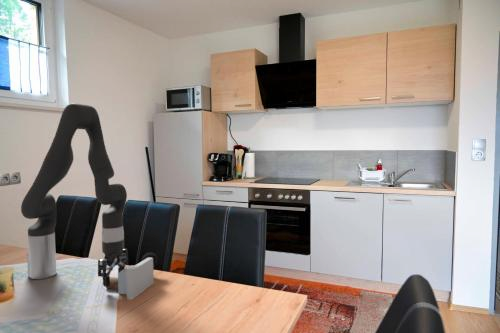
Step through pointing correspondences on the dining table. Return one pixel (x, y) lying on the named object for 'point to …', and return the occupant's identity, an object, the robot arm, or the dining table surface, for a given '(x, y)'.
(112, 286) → the dowel
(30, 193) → the robot arm
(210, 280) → the dining table surface
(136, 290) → the base plate
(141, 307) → the dining table surface
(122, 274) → the sleeve block
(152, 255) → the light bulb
